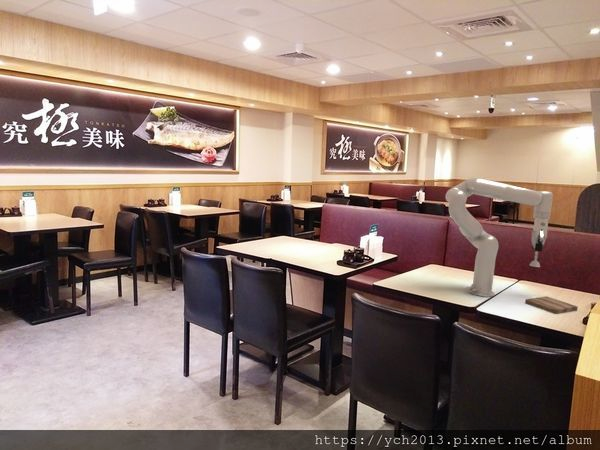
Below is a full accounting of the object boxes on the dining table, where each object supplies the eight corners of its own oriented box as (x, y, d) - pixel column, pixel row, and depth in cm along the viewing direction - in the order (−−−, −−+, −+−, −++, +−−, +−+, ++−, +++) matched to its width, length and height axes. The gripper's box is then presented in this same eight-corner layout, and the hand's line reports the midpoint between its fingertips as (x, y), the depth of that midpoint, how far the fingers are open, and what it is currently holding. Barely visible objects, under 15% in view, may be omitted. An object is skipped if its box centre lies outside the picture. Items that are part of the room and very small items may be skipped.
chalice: (540, 264, 225) (544, 231, 222) (544, 268, 218) (549, 233, 215) (525, 263, 226) (529, 230, 223) (529, 266, 219) (534, 232, 217)
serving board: (555, 314, 199) (556, 309, 199) (525, 303, 213) (525, 299, 213) (577, 310, 206) (577, 306, 206) (546, 300, 220) (546, 296, 220)
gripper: (553, 217, 209) (548, 254, 211) (546, 214, 225) (541, 247, 228) (536, 216, 211) (531, 252, 214) (530, 213, 227) (525, 246, 230)
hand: (536, 249), depth 221 cm, fingers closed on chalice, 5 cm apart
